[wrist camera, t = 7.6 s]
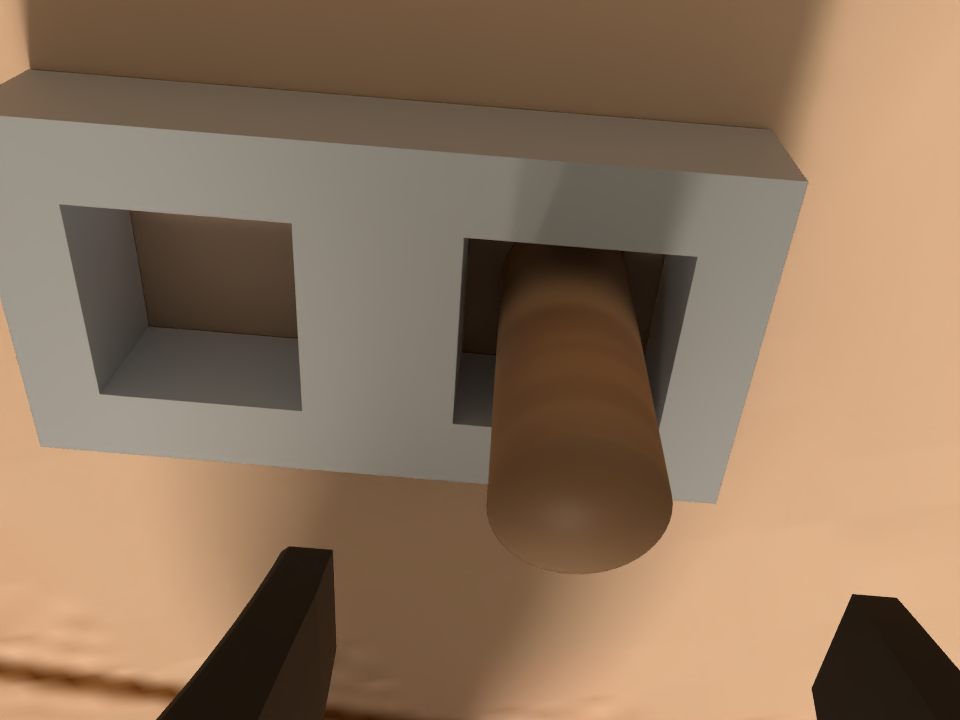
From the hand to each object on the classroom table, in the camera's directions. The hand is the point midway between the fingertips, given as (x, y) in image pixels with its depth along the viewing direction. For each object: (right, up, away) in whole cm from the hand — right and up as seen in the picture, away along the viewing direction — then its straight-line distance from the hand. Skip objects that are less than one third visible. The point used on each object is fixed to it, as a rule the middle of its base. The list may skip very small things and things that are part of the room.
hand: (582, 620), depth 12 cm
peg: (+1, +6, +9) cm, 10 cm away
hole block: (-3, +6, +9) cm, 11 cm away
